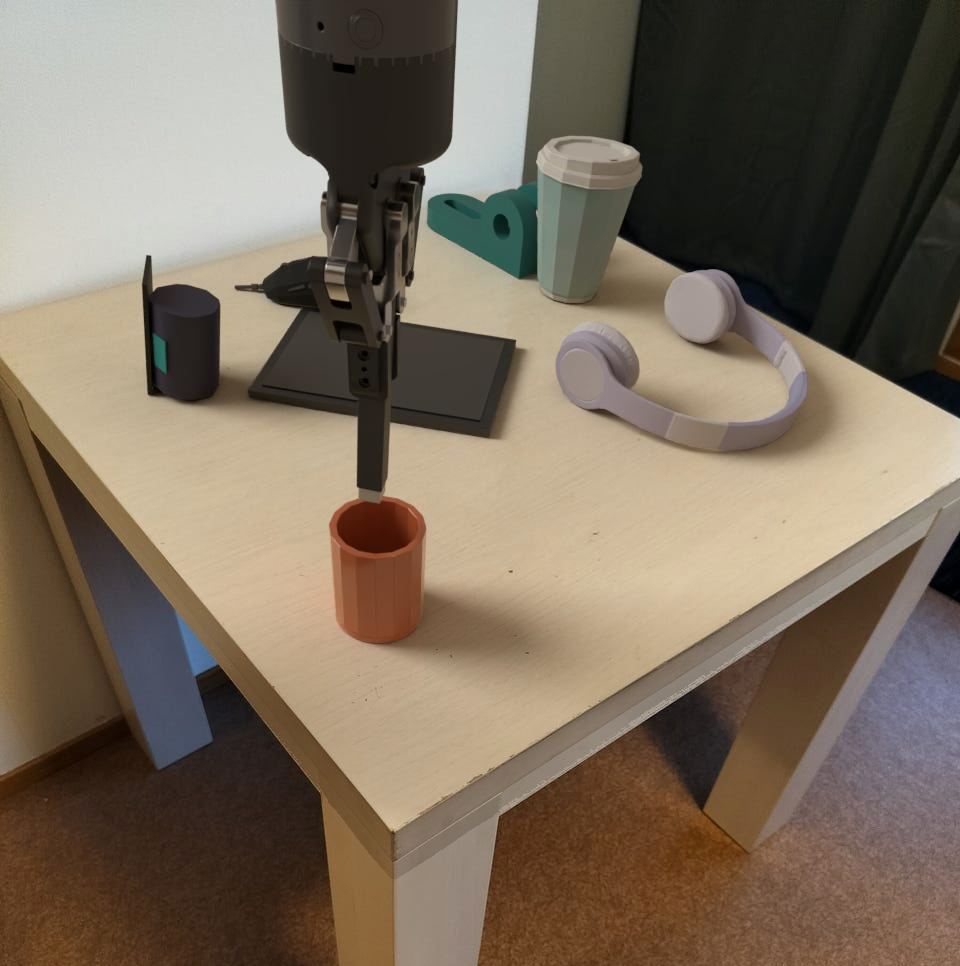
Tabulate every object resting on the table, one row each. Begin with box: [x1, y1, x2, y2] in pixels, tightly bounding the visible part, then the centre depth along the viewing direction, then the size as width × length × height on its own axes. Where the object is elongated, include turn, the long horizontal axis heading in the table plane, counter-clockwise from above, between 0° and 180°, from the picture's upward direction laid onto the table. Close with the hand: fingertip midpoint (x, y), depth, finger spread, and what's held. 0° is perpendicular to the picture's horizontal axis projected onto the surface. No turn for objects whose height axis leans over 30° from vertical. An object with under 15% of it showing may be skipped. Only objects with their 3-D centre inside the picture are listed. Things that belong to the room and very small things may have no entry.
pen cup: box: [328, 495, 427, 644], centre depth 61 cm, size 6×6×8 cm
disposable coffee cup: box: [535, 135, 643, 304], centre depth 93 cm, size 11×11×15 cm
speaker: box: [141, 254, 221, 401], centre depth 78 cm, size 8×6×10 cm
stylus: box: [356, 297, 396, 504], centre depth 51 cm, size 2×2×13 cm
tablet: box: [247, 306, 517, 439], centre depth 85 cm, size 22×16×1 cm
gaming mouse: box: [234, 255, 328, 309], centre depth 93 cm, size 6×15×4 cm, turn 88°
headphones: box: [554, 269, 809, 451], centre depth 84 cm, size 22×7×20 cm
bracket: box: [426, 180, 538, 280], centre depth 103 cm, size 18×7×8 cm, turn 42°
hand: (375, 384), depth 50 cm, fingers closed on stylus, 1 cm apart
